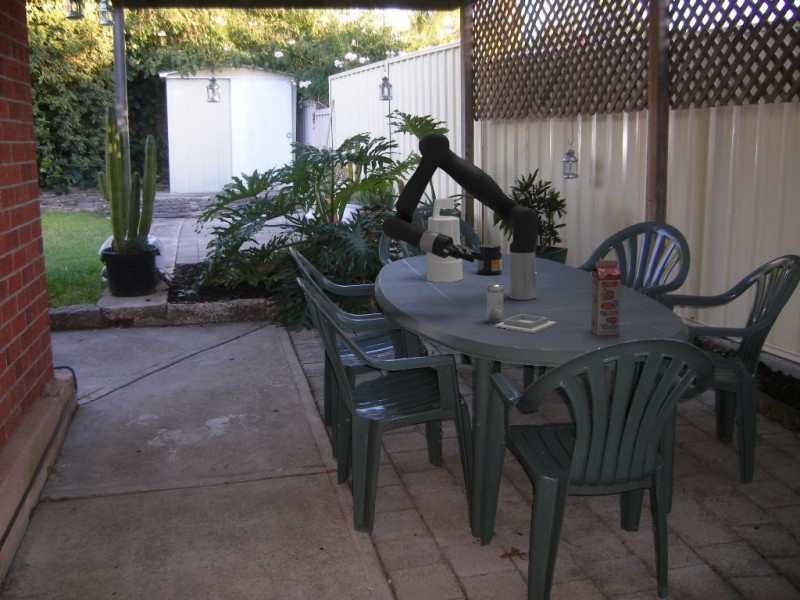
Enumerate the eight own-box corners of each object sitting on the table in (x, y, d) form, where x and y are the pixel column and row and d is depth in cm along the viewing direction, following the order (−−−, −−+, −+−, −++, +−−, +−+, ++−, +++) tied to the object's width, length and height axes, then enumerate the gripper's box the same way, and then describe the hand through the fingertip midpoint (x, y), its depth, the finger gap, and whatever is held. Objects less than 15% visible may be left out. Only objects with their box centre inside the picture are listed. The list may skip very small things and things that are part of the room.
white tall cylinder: (442, 274, 356) (441, 195, 349) (470, 277, 346) (470, 197, 339) (419, 279, 345) (417, 199, 338) (447, 283, 335) (446, 200, 328)
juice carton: (590, 330, 255) (592, 259, 250) (611, 329, 255) (614, 258, 251) (597, 335, 249) (599, 263, 244) (618, 334, 249) (621, 262, 244)
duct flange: (518, 318, 272) (518, 311, 272) (556, 324, 263) (556, 317, 263) (495, 327, 262) (495, 320, 261) (533, 333, 253) (533, 326, 252)
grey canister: (499, 318, 273) (499, 282, 271) (506, 321, 268) (506, 285, 266) (484, 319, 272) (484, 284, 269) (491, 323, 267) (491, 287, 264)
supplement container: (507, 273, 353) (507, 246, 350) (486, 276, 348) (486, 248, 345) (492, 270, 362) (492, 243, 359) (472, 273, 356) (472, 245, 354)
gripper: (430, 233, 272) (474, 248, 265) (448, 232, 284) (490, 247, 278) (424, 255, 274) (467, 271, 267) (442, 253, 286) (483, 268, 280)
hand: (479, 258), depth 272 cm, fingers open, 8 cm apart
